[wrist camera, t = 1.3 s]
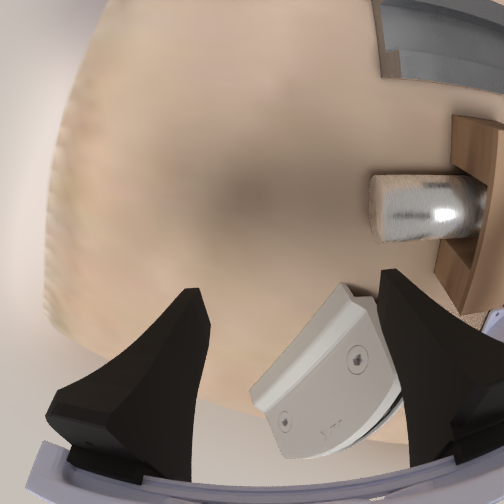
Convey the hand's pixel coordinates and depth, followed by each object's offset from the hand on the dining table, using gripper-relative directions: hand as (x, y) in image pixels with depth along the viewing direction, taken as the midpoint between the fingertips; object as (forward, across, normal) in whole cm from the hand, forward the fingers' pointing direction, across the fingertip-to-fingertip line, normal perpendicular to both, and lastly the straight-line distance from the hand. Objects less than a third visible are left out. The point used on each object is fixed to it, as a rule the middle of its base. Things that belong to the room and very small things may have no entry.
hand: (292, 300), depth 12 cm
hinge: (+9, -2, +15) cm, 18 cm away
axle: (+9, -10, 0) cm, 14 cm away
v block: (+9, -13, -11) cm, 19 cm away
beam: (+9, -14, 0) cm, 16 cm away
